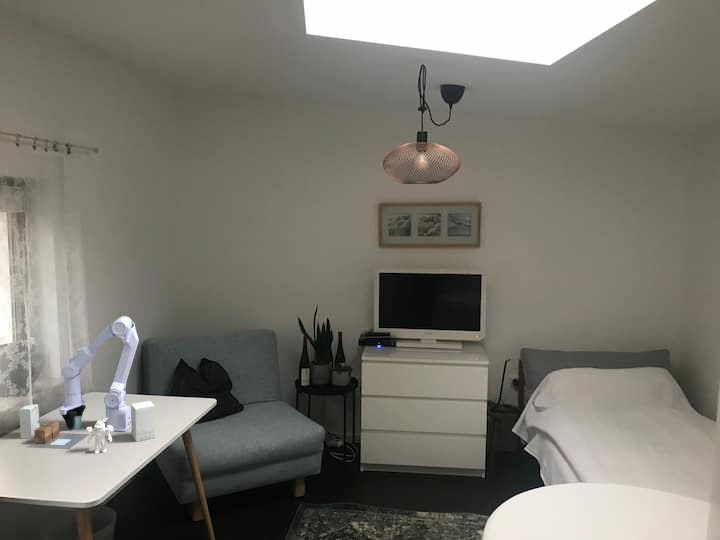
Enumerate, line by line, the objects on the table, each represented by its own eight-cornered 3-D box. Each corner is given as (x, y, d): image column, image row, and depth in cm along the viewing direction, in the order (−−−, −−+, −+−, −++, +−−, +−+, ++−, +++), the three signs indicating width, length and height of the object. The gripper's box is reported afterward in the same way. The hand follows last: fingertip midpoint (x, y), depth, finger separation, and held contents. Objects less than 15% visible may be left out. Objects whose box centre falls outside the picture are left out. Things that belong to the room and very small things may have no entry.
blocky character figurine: (114, 448, 207) (113, 415, 206) (113, 452, 203) (112, 419, 202) (87, 451, 204) (86, 418, 203) (85, 455, 201) (84, 422, 199)
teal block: (81, 428, 226) (81, 416, 226) (76, 432, 222) (75, 419, 222) (72, 427, 226) (71, 415, 226) (66, 431, 222) (65, 419, 222)
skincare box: (32, 441, 213) (30, 409, 212) (20, 441, 213) (18, 409, 212) (40, 434, 219) (39, 404, 218) (28, 434, 219) (27, 404, 218)
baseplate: (90, 436, 217) (90, 433, 217) (68, 451, 204) (68, 448, 203) (50, 435, 219) (49, 432, 219) (26, 449, 205) (25, 446, 205)
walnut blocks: (59, 435, 216) (58, 422, 216) (45, 443, 208) (44, 430, 207) (49, 434, 216) (48, 421, 216) (34, 443, 208) (34, 430, 208)
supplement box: (156, 438, 217) (155, 405, 216) (135, 442, 213) (134, 409, 212) (151, 431, 223) (150, 400, 222) (131, 435, 219) (130, 403, 218)
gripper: (73, 386, 230) (74, 419, 232) (51, 398, 216) (52, 432, 217) (90, 387, 230) (91, 420, 231) (69, 398, 215) (70, 433, 217)
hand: (74, 426), depth 224 cm, fingers closed on teal block, 4 cm apart
